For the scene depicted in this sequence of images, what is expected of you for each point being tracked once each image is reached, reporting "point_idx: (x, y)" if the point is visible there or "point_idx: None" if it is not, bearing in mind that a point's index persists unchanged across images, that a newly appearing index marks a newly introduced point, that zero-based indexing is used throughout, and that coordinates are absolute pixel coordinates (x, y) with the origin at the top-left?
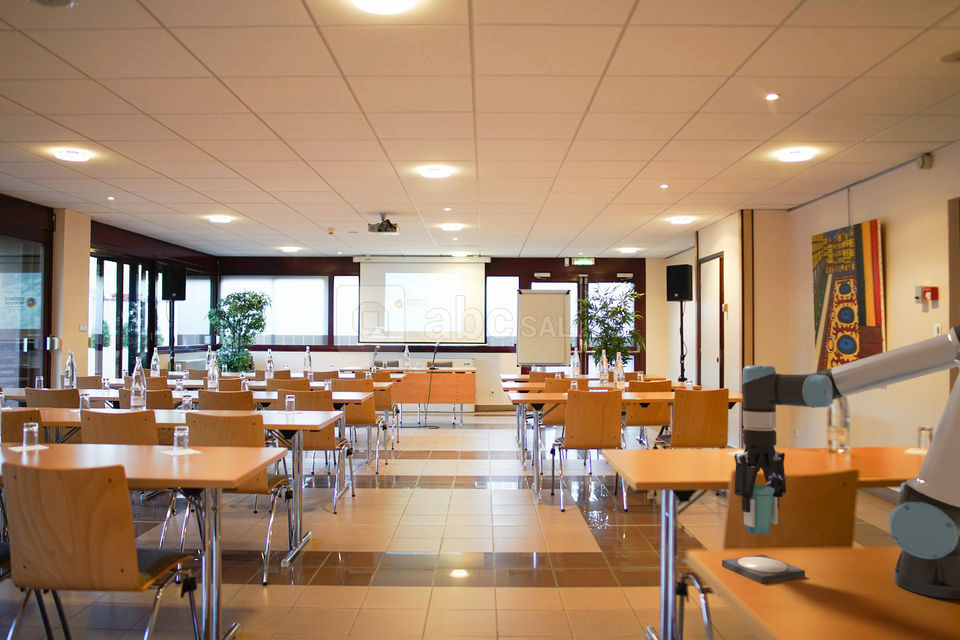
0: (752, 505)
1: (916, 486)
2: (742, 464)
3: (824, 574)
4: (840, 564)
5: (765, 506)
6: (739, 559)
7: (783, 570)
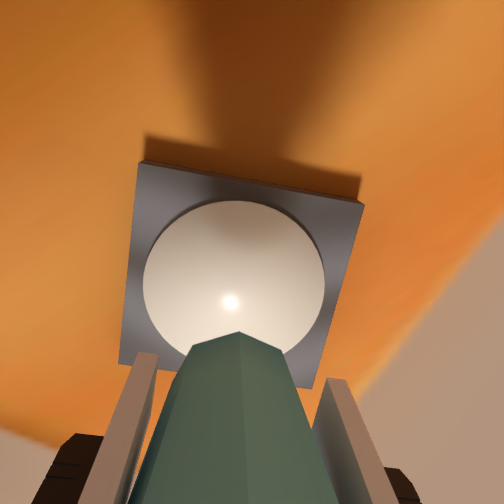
0: (392, 500)
1: None
2: None
3: (39, 136)
4: None
5: (273, 456)
6: None
7: (232, 201)
